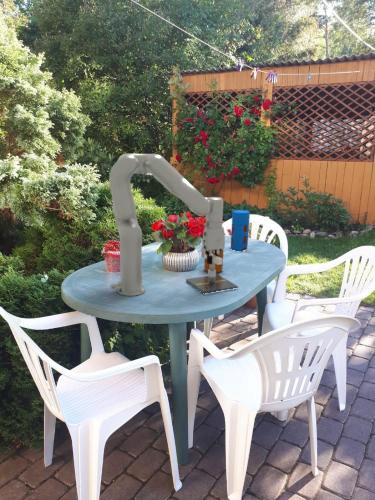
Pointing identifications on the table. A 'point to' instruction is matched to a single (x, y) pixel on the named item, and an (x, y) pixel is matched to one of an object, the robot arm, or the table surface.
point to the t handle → (213, 260)
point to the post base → (209, 286)
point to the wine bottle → (217, 267)
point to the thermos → (240, 230)
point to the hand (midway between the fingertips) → (212, 262)
